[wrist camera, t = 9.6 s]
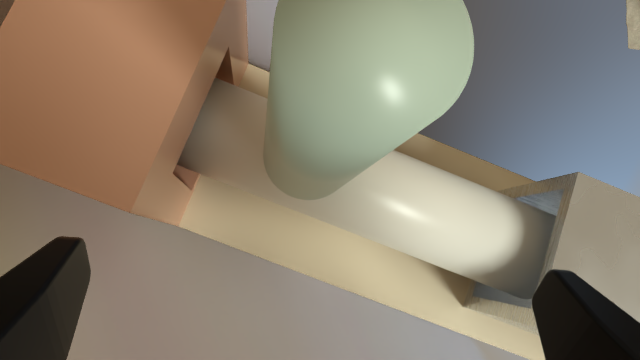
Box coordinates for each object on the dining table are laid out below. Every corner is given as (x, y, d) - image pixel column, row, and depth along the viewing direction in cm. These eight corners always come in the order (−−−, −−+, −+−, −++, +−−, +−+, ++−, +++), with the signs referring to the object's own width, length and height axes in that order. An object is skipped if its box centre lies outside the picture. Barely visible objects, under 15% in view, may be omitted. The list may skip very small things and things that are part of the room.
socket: (178, 226, 18) (130, 212, 11) (62, 182, 17) (-63, 140, 11) (248, 63, 19) (244, -40, 12) (141, 19, 19) (76, -112, 12)
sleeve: (639, 374, 19) (768, 417, 15) (462, 306, 19) (535, 327, 14) (665, 258, 20) (796, 262, 15) (498, 190, 20) (578, 172, 15)
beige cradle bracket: (500, 294, 18) (907, 373, 7) (126, 149, 17) (-131, -47, 6) (522, 216, 19) (934, 169, 7) (162, 71, 18) (-6, -247, 6)
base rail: (646, 403, 20) (665, 411, 19) (73, 186, 18) (62, 182, 17) (680, 249, 22) (701, 249, 21) (147, 31, 20) (141, 19, 19)
